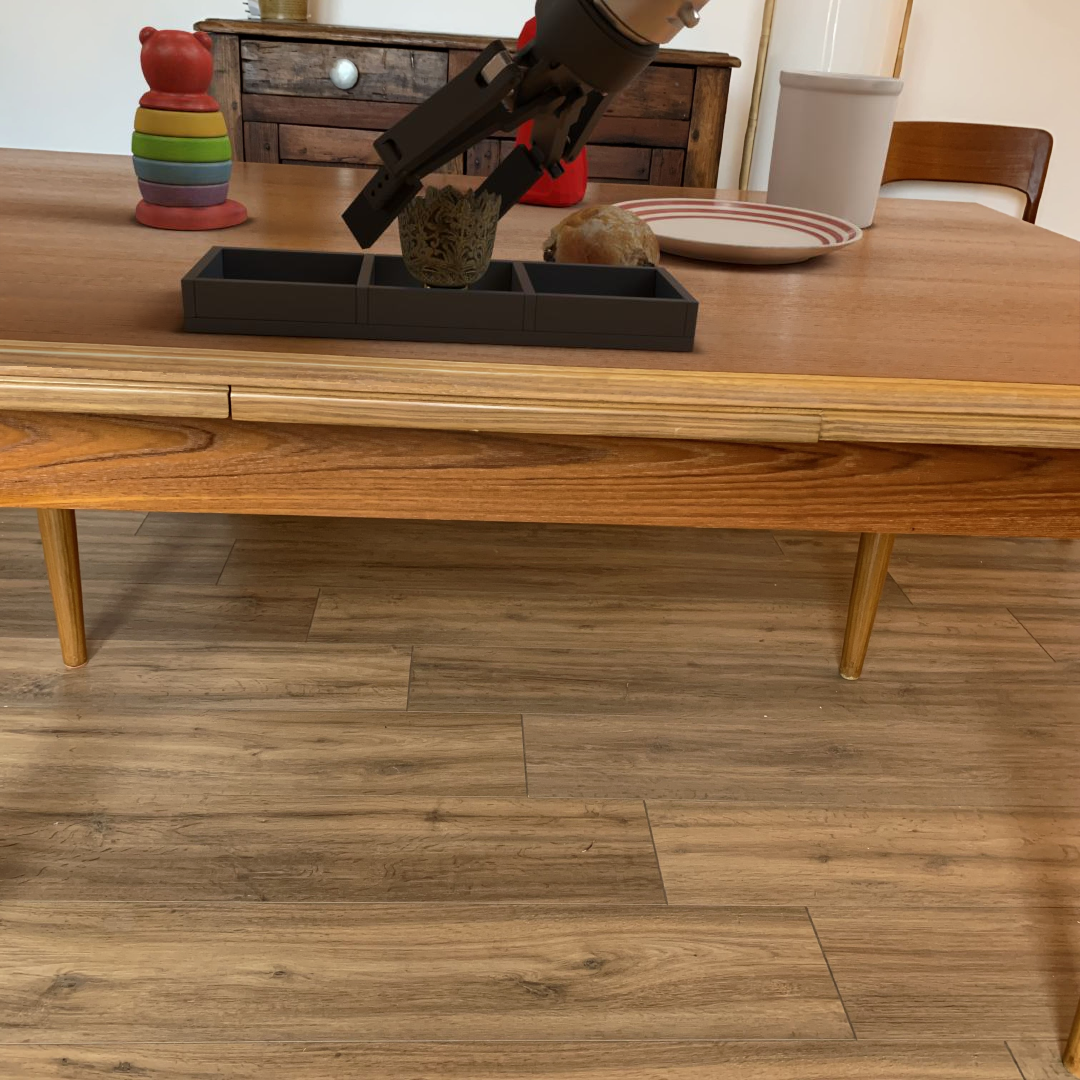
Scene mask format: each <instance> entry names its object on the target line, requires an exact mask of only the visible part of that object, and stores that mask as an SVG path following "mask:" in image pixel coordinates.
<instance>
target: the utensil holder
mask: <svg viewBox="0 0 1080 1080" xmlns="http://www.w3.org/2000/svg"><path fill="white" fill-rule="evenodd" d="M778 81H779V85H780V86H779V87H780V88H779V89H780V90H779V94H778V102H777V109H776V115H775V124H774V132H773V133H774V134H773V140H772V146H771V147H772V148H771V156H770V164H769V171H768V180H767V189H766V190H767V191H766V198H765V204H769V205H777V206H784V207H791V208H797V209H803V210H808V211H813V212H818V213H822V214H826V215H830V216H834V217H837V218H840V219H842V220H845V221H847V222H850V223H852V224H854V225H855V226H857V227H858V228H860V229H866V228H868V227H870V226H871V225H872V223H873V220H874V217H875V216H874V215H875V212H876V208H877V203H878V200H879V193H880V190H881V185H882V181H883V176H884V171H885V166H886V162H887V161H886V160H887V156H888V151H889V147H890V141H891V138H892V137H891V136H892V131H893V127H894V121H895V116H896V111H897V107H898V101H899V96H900V94H901V93H902V91H903V88H904V83H905V80H904V79H903V78H897V77H892V76H891V77H890V76H882V75H870V74H859V73H858V74H857V73H845V72H832V71H817V70H803V69H801V70H799V69H781V70H780V72H779V77H778Z"/></svg>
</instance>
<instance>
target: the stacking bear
mask: <svg viewBox="0 0 1080 1080" xmlns="http://www.w3.org/2000/svg"><path fill="white" fill-rule="evenodd" d="M138 41H139V43H140V44H141V48H140V52H139V53H140V55H139V62H140V68H141V73H142V75H143V77H144V80H145V82H146V84H147V85H148V87H149V90H148V91H146V92H144V93H143V94H142V96H141V97H140V98H139V100H138V104H139V106H138V107H137V108H136V110H135V114H134V119H133V120H134V121H133V129H134V130H133V131H132V132H131V133H132V134H131V148H130V151H131V153H132V156H131V159H132V165H133V169H134V173H135V176H136V178H137V185H138V188H139V192H140V195H141V197H142V199H140V201H138V202H137V204H136V206H135V219H136V220H137V221H138V222H140V223H141V224H143V225H145V226H148V227H152V228H157V229H165V230H177V231H205V230H215V229H221V228H222V229H223V228H224V229H225V228H228V227H233V226H238V225H239V224H242V223H244V222H245V221H247V219H248V210H247V207H246V206H245V205H244V204H242V203H241V202H240V201H236V200H233V199H231V198H228V192H229V186H230V181H231V179H232V178H231V177H232V170H233V162H232V156H233V153H232V152H233V151H232V145H231V140H230V137H229V136H228V135H227V134H228V129H227V125H226V120H225V117H224V114H223V113H222V112H221V111H220V105H219V103H217V101H216V99H214V97H212V96H211V95H209V94H208V93H207V91H208V90H209V88H210V86H211V83H212V81H213V80H212V79H213V74H214V60H213V57H212V53H211V49H212V47H213V41H212V38H211V36H210V35H209V34H208V33H207V32H206V31H203V30H197V31H195V32H193V33H192V32H189V31H186V30H180V29H160V30H158V29H156V28H155V27H153V26H145V27H143V28H141V29H140V31H139V32H138Z"/></svg>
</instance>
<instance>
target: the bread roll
mask: <svg viewBox="0 0 1080 1080" xmlns="http://www.w3.org/2000/svg"><path fill="white" fill-rule="evenodd" d="M612 205H613V204H594V205H589V206H586V207H584V208H583V207H582V209H578V210H577V211H574V212H572V213H570V214H569V215H568V216H566V217H565V218H563V219H562V220H561V221H560V222H559V223H558V224H556V225H555V226H553V227H552V228H551V229H550V235H549V236H548V237H547V239H546V240H544V241H543V243H542V246H541V250H542V252H543V255H542V258H543V262H560V263H581V264H602V265H623V266H644V267H659V264H660V259H661V252H660V251H661V250H659V245H658V242H657V239H656V236H655V235H654V233H653V231H652V230H651V228H650V226H649V225H648V224H647V223H646V222H645V221H644V220H642V219H640V218H639V217H638V216H637V214H636V213H634V212H633V211H630V210H626V211H625V210H623V209H621V208H619V207H616V206H612Z"/></svg>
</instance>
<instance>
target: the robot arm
mask: <svg viewBox="0 0 1080 1080" xmlns="http://www.w3.org/2000/svg"><path fill="white" fill-rule="evenodd" d="M710 1H711V0H536V1H535V4H534V16H535V17H536V34H535V37H534V38H533V39H531V40H530V41H529V42H528V43H527V44H526V45H525V46H523V47H522V48H521V49H519V50H517V51H513V53H511V52H509V49H507V47H506V45H505V44H504V43H503V41H502V40H501V39H495V40H493V41H491V42H490V43H489V44H488V45H487V46H486V47H485V48H483V50H482V51H481V52H480V53H479V54H478V55H477V57H475V59H474V60H473V61H472V62H471V63H470V64H469V65H468V66H467V67H466V68H464V69H463V70H462V71H460V73H458V74H457V75H455V76H454V77H453V78H451V80H449V81H448V82H447V83H446V84H444V85H443V86H442V87H440V88H439V89H438V90H437V91H435V92H433V94H431V95H430V96H429V97H428V98H427V99H425V100H424V101H423V102H422V103H420V104H419V105H418V106H416V107H415V108H414V109H412V110H411V111H410V112H409V113H407V114H406V115H405V116H404V117H402V118H401V119H400V120H398V121H397V122H396V123H394V124H393V125H392V126H391V127H390V128H388V129H387V130H386V131H385V132H383V133H382V134H381V135H380V136H378V137H377V138H376V139H375V140H373V143H372V147H373V149H374V150H375V152H376V153H377V155H378V157H379V158H380V160H381V161H382V163H383V164H382V165H381V166H380V167H379V169H378V170H377V171H376V172H375V173H374V175H373V176H371V178H370V179H369V180H368V182H367V183H366V185H365V186H364V187H363V188H362V189H361V191H360V192H359V193H358V195H356V197H355V198H354V199H353V200H352V202H351V203H350V204H349V205H348V207H346V209H345V210H344V211H343V213H342V214H341V215H340V217H341V218H342V220H343V222H344V223H345V225H346V226H347V228H348V229H349V231H350V233H351V234H352V236H353V238H354V239H355V240H356V242H357V244H358V246H359V247H360V249H361V250H367V249H371V248H372V247H373V246H374V244H375V243H376V242H377V241H378V240H379V239H380V237H381V236H382V235H383V234H384V233H385V231H386V230H387V229H388V228H389V227H390V226H391V225H392V223H394V221H395V220H396V219H398V215H399V214H400V213H401V212H402V211H403V210H404V208H405V207H406V206H407V205H408V204H409V203H410V202H411V200H412V199H413V198H414V197H415V196H418V193H419V192H420V191H421V190H422V189H423V188H424V187H425V186H424V184H423V183H422V181H421V180H422V179H424V178H426V177H427V176H429V175H430V174H432V173H433V172H435V171H437V170H438V169H440V168H441V167H443V166H444V165H446V164H448V163H449V162H451V161H452V160H454V159H456V158H457V157H459V156H460V155H462V154H464V153H465V152H467V151H468V150H470V149H472V148H473V147H475V146H477V145H478V144H479V143H481V142H482V141H484V140H486V139H487V138H490V136H492V135H494V134H495V133H497V132H500V131H501V132H502V133H505V134H507V133H509V134H510V133H511V132H514V131H515V130H516V129H519V127H520V126H521V125H522V124H524V123H526V122H527V121H529V120H532V119H534V120H533V125H532V129H531V134H530V139H529V145H530V146H531V149H530V150H528V148H527V147H526V145H525V144H518V145H517V146H516V147H515V148H514V147H513V149H512V150H511V152H509V153H508V155H507V156H506V157H505V158H504V159H503V160H502V161H501V162H500V163H499V164H498V165H497V166H496V167H495V169H494V170H493V171H492V172H491V173H490V174H489V175H488V176H487V177H486V179H485V180H484V181H483V182H482V183H481V184H480V185H479V186H478V187H477V188H476V190H474V191H473V193H474V194H475V198H476V200H477V198H478V197H479V196H480V195H481V194H482V192H483V191H484V190H485V189H486V190H487V192H488V196H489V195H490V194H493V192H494V193H495V194H496V196H497V197H498V196H499V195H500V194H501V205H500V211H499V217H498V222H500V220H501V219H502V218H503V217H504V216H505V215H506V214H508V212H509V211H510V210H511V209H512V208H513V207H514V206H515V205H516V204H517V203H519V202H518V200H519V199H520V198H521V197H522V196H523V195H524V194H525V193H526V192H527V191H528V190H529V189H530V188H531V187H532V186H533V185H534V184H535V183H536V182H537V181H538V180H539V179H540V178H541V177H542V176H543V175H544V173H543V172H542V171H543V170H544V169H545V170H546V171H547V173H548V174H549V176H550V177H551V179H552V180H554V179H557V178H558V177H560V176H561V175H562V174H563V173H564V172H565V169H564V168H563V166H562V165H561V163H560V160H561V159H563V161H564V162H565V164H569V163H572V162H573V161H575V160H576V158H577V157H578V156H579V154H580V152H581V151H582V149H583V147H584V146H585V147H586V144H587V142H588V141H589V139H590V137H591V136H592V134H593V133H594V131H595V129H596V127H597V125H598V124H599V122H600V120H602V117H603V115H604V114H605V113H606V111H607V109H608V107H609V106H610V104H611V102H612V101H613V99H614V98H615V97H616V96H617V95H618V94H619V93H622V92H624V91H625V90H626V88H628V87H629V86H630V85H631V83H633V82H634V81H635V80H636V78H637V77H639V76H640V75H641V73H642V72H643V71H644V70H645V69H646V68H648V67H649V66H650V64H651V63H652V62H653V61H654V60H655V59H656V58H657V56H659V52H660V47H661V45H665V44H666V45H667V44H669V43H670V42H671V41H672V40H673V39H674V38H675V37H676V36H677V35H678V34H679V33H680V32H681V31H682V30H683V29H684V28H685V27H686V28H687V29H693V28H695V27H696V26H697V25H699V23H700V20H701V17H700V14H699V12H700V11H701V10H702V9H703V8H704V7H705V6H706V5H707V4H708V3H709V2H710ZM502 101H504V103H505V104H504V103H503V102H502ZM505 105H506V106H507V107H508V109H509V111H508V110H507V108H506V106H505ZM568 137H569V138H568ZM569 139H570V140H569Z"/></svg>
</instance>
